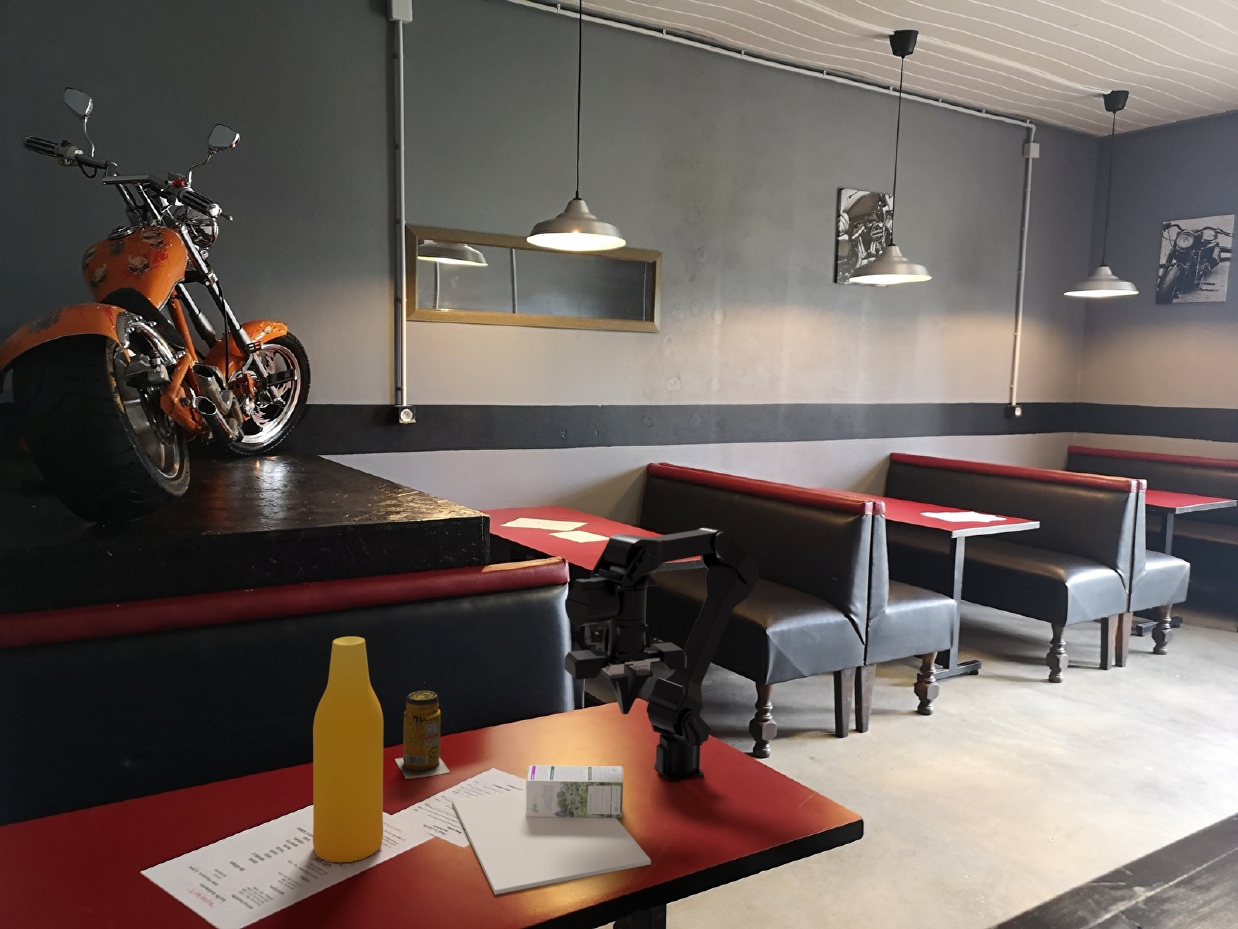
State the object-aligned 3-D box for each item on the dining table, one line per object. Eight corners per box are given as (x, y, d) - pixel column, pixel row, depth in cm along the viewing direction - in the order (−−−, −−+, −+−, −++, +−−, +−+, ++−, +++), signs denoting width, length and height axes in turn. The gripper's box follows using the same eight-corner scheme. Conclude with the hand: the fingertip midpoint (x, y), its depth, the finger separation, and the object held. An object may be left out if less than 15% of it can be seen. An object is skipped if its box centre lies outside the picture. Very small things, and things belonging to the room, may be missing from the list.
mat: (584, 783, 144) (584, 780, 144) (650, 864, 120) (650, 860, 120) (452, 803, 135) (452, 800, 135) (494, 894, 112) (494, 890, 111)
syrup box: (622, 765, 136) (528, 763, 136) (623, 782, 130) (524, 781, 130) (622, 800, 137) (527, 799, 136) (622, 819, 131) (524, 818, 131)
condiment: (437, 754, 154) (437, 686, 153) (450, 773, 146) (450, 702, 145) (394, 760, 151) (395, 691, 150) (405, 780, 143) (406, 708, 142)
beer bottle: (318, 871, 116) (318, 654, 113) (308, 838, 124) (307, 635, 122) (390, 856, 120) (391, 646, 118) (375, 825, 128) (376, 628, 126)
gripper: (659, 600, 149) (656, 690, 151) (554, 608, 142) (552, 703, 143) (689, 616, 139) (686, 713, 140) (577, 625, 132) (575, 727, 133)
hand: (624, 713), depth 140 cm, fingers closed
